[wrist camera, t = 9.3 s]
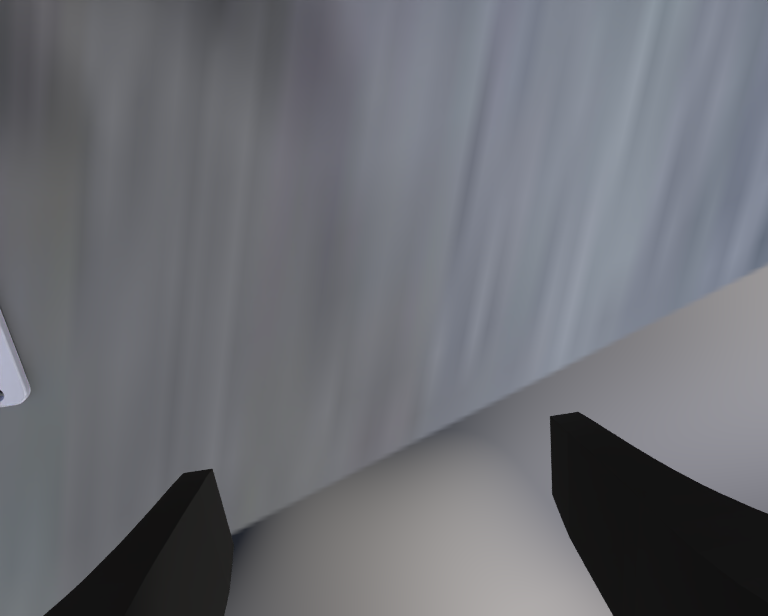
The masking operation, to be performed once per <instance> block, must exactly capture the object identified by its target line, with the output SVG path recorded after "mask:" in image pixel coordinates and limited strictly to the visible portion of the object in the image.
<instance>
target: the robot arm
mask: <svg viewBox="0 0 768 616" xmlns="http://www.w3.org/2000/svg"><path fill="white" fill-rule="evenodd" d="M0 390H1V391H2V392H3V393H4V396H0V407H4V406H11V405H17V404H20V403H22V402H23V401H24V400H25V399H26V398H27V397H28V396H29V395H30V392H31V389H30V385H29V382H28V379H27V377H26V374H25V372H24V369H23V366H22V364H21V361H20V359H19V356H18V353H17V351H16V348H15V346H14V343H13V340H12V338H11V335H10V333H9V330H8V327H7V325H6V322H5V320H4V317H3V314H2V312H1V309H0ZM550 431H551V464H552V465H551V466H552V495H553V497H554V500H555V503H556V505H557V508H558V510H559V513H560V515H561V518H562V520H563V523H564V525H565V528H566V530H567V532H568V535H569V537H570V539H571V541H572V543H573V544H574V546H575V548H576V550H577V552H578V554H579V555H580V557H581V559H582V561H583V563H584V564H585V566H586V568H587V570H588V572H589V573H590V575H591V577H592V578H593V581H594V582H595V584H596V586H597V588H598V589H599V591H600V593H601V595H602V597H603V598H604V600H605V602H606V603H607V605H608V607H609V609H610V611H611V612H612V614H613V616H768V514H767V513H764V512H762V511H760V510H757V509H755V508H752V507H750V506H748V505H745V504H743V503H741V502H739V501H736V500H734V499H732V498H730V497H727V496H725V495H723V494H720V493H718V492H716V491H714V490H712V489H710V488H708V487H706V486H704V485H702V484H700V483H698V482H696V481H694V480H692V479H690V478H689V477H686V476H685V475H683V474H681V473H679V472H677V471H675V470H673V469H672V468H670V467H668V466H666V465H664V464H663V463H661V462H659V461H657V460H656V459H654V458H652V457H650V456H649V455H647V454H646V453H644V452H642V451H641V450H639V449H637V448H635V447H634V446H632V445H631V444H629V443H627V442H626V441H624V440H623V439H621V438H620V437H618V436H616V435H615V434H613V433H611V432H610V431H608V430H607V429H605V428H604V427H602V426H601V425H599V424H597V423H596V422H594V421H593V420H591V419H589V418H588V417H586V416H585V415H583V414H581V413H579V412H574V413H568V414H561V415H555V416H550ZM233 548H234V544H233V541H232V537H231V533H230V530H229V526H228V523H227V519H226V515H225V512H224V508H223V505H222V501H221V498H220V494H219V490H218V487H217V483H216V480H215V476H214V473H213V469H208V470H201V471H195V472H188V473H183V474H182V475H181V476H180V477H179V478H178V479H177V481H176V482H175V483H174V484H173V485H172V486H171V487H170V488H169V489H168V491H167V492H166V493H165V494H164V495H163V496H162V497H161V499H160V500H159V501H158V502H157V503H156V504H155V505H154V506H153V508H152V509H151V510H150V511H149V512H148V513H147V514H146V515H145V517H144V518H143V519H142V520H141V521H140V522H139V523H138V524H137V525H136V526H135V528H134V529H133V530H132V531H131V532H130V533H129V534H128V535H127V536H126V537H125V539H124V540H123V541H122V542H121V543H120V544H119V545H118V546H117V547H116V548H115V549H114V550H113V551H112V552H111V553H110V554H109V555H108V556H107V557H106V558H105V559H104V560H103V561H102V562H101V563H100V564H99V565H98V566H97V567H96V568H95V569H94V570H93V571H92V572H91V573H90V574H89V575H88V576H87V577H86V578H85V579H84V580H83V581H82V582H81V583H80V584H79V585H78V586H77V587H76V588H74V589H73V590H72V591H71V592H70V593H69V594H68V595H67V596H66V597H65V598H63V599H62V600H61V601H60V602H59V603H58V604H56V605H55V606H54V607H53V608H52V609H51V610H49V611H48V612H47V613H46V614H45V615H44V616H224V613H225V609H226V605H227V600H228V595H229V590H230V581H231V572H232V561H233Z"/></svg>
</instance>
